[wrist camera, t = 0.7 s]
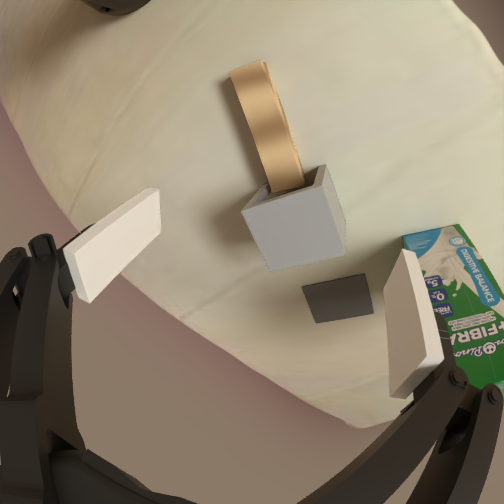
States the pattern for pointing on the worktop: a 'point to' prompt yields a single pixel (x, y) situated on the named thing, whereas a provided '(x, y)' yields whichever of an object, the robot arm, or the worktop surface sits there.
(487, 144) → the worktop surface
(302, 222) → the tunnel
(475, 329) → the milk carton
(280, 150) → the tan long bar
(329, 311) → the mat
